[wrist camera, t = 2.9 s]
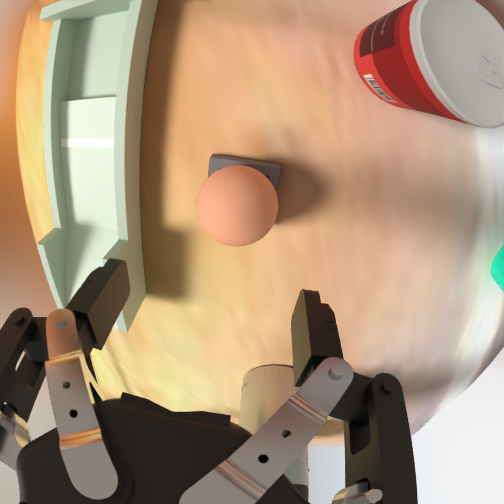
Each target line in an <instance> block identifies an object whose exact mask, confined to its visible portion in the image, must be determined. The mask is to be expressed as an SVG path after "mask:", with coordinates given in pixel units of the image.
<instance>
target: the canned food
mask: <svg viewBox="0 0 504 504" xmlns="http://www.w3.org/2000/svg"><path fill="white" fill-rule="evenodd" d="M354 61H355V65H356V69H357V71H358V73H359V75H360V77H361V79H362V80H363V82H364V83H365V84H366V86H367V87H368V88H369V89H370V90H371V91H372V92H373V93H374V94H375V95H377V96H378V97H379V98H380V99H382V100H384V101H386V102H387V103H389V104H392V105H395V106H398V107H403V108H408V109H413V110H417V111H422V112H426V113H430V114H434V115H438V116H442V117H446V118H449V119H453V120H456V121H459V122H463V123H466V124H470V125H474V126H477V127H483V128H496V127H500V126H502V125H504V30H503V28H502V27H501V26H500V24H499V23H498V22H497V21H496V19H495V18H494V17H493V16H492V15H491V14H490V13H489V12H488V11H487V10H486V9H485V8H484V7H482V6H481V5H480V4H479V3H477V2H476V1H475V0H412V1H410V2H408V3H406V4H405V5H403V6H401V7H399V8H397V9H395V10H394V11H392V12H390V13H388V14H387V15H385V16H383V17H381V18H380V19H378V20H376V21H375V22H373V23H372V24H370V25H368V26H367V27H366V28H364V29H363V30H362V31H361V32H360V34H359V35H358V37H357V39H356V41H355V46H354Z"/></svg>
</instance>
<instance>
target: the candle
mask: <svg viewBox="0 0 504 504" xmlns="http://www.w3.org/2000/svg"><path fill="white" fill-rule="evenodd" d="M491 275H492V277H493V279H494V280H495V281H496V283H497V284H498V285H499V286H500V288H501V289H502V290H503V292H504V247H503V248H502V249H501V250H500V251H499V252H498V253H497V255H496V257H495V259H494V261H493V263H492V268H491Z"/></svg>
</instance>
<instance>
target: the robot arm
mask: <svg viewBox="0 0 504 504" xmlns="http://www.w3.org/2000/svg"><path fill="white" fill-rule="evenodd" d="M129 294H130V282H129V276H128V269H127V263H126V261H125V260H120V259H115V258H109V259H108V260H107V262H106V263H105V264H104V266H103V267H100V266H99V267H98V268H96V269H95V270H93V271H92V272H91V273H90V274H89V275H88V277H87V278H86V279H85V281H84V282H83V283H82V285H81V287H80V288H79V289H78V290H77V292H76V293H75V295H74V296H73V297H72V299H71V300H70V302H69V303H68V305H67V306H66V307H65V309H64V308H61V309H57V310H55V311H53V312H52V313H50V315H49V316H48V317H33V315H32V313H31V311H30V310H29V309H27V308H19V309H16V310H15V311H13V312H12V313H11V314H10V316H9V317H8V319H7V320H6V322H5V324H4V325H3V327H2V328H1V330H0V460H1V461H2V462H4V463H5V464H7V465H8V466H9V467H11V468H12V469H14V470H16V471H17V477H18V482H19V490H20V502H19V504H310V503H309V502H308V444H309V442H310V441H311V440H312V439H313V437H314V436H315V435H316V433H317V432H318V431H319V430H320V428H321V427H322V426H323V424H324V423H325V421H326V420H327V417H328V416H331V417H334V418H338V419H341V420H344V439H345V489H342V490H340V491H339V492H338V493H337V494H336V495H335V496H334V498H333V500H332V504H418V500H417V484H416V473H415V465H414V464H415V463H414V455H413V448H412V441H411V434H410V428H409V422H408V416H407V411H406V406H405V401H404V396H403V391H402V387H401V384H400V382H399V381H398V379H397V378H395V377H394V376H393V375H391V374H388V373H381V374H378V375H376V376H375V377H374V379H373V378H369V377H366V376H363V375H360V374H357V373H355V372H353V369H352V367H351V366H350V364H349V363H348V362H346V361H345V360H344V358H343V353H342V348H341V343H340V338H339V333H338V331H337V330H338V329H337V324H336V319H335V315H334V312H333V311H332V309H331V308H330V306H329V305H328V304H324V303H321V300H320V295H319V292H318V291H312V290H305V289H302V290H301V291H300V294H299V297H298V300H297V303H296V306H295V309H294V312H293V315H292V321H291V332H292V350H293V368H290V367H286V366H278V365H270V366H263V367H258V368H255V369H253V370H251V371H249V372H248V373H247V374H246V375H245V376H244V378H243V386H242V398H241V407H240V417H239V425H237V424H235V423H232V422H230V418H231V415H225V414H218V413H211V412H205V411H193V412H173V411H170V410H168V409H166V408H164V407H162V406H160V405H158V404H156V403H154V402H152V401H150V400H148V399H146V398H142V397H138V396H135V395H131V394H128V393H125V392H123V393H122V395H121V398H114V399H107V400H106V398H105V396H104V394H103V392H102V389H101V386H100V383H99V380H98V377H97V373H96V370H95V366H94V363H93V359H92V356H91V351H92V349H93V348H96V349H99V350H102V348H103V346H104V344H105V342H106V340H107V338H108V336H109V334H110V332H111V330H112V328H113V326H114V324H115V322H116V320H117V318H118V316H119V314H120V313H121V311H122V309H123V307H124V305H125V303H126V301H127V299H128V297H129ZM23 350H24V352H25V355H24V357H23V359H22V361H21V363H20V365H19V367H18V369H17V371H16V370H15V368H16V364H17V362H18V360H19V358H20V356H21V354H22V352H23ZM45 376H47V382H48V388H49V394H50V399H51V404H52V409H53V413H54V417H55V422H56V425H57V427H56V428H54V429H52V430H50V431H49V432H47V433H45V434H43V435H42V436H40V437H38V438H36V439H35V440H33V441H31V436H30V434H29V428H28V425H27V421H28V419H29V416H30V413H31V411H32V408H33V405H34V403H35V400H36V398H37V395H38V393H39V390H40V388H41V385H42V383H43V381H44V378H45ZM30 441H31V442H30Z"/></svg>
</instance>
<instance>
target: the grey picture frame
mask: <svg viewBox="0 0 504 504" xmlns="http://www.w3.org/2000/svg"><path fill="white" fill-rule="evenodd" d="M233 165H242V166H248V167H251V168H254V169H256V170H258V171H259V172H261V173H262V174H263V175H266V176H268V180H269V181H270V182H271V183H272V185H273V187H274V189H275V191H277V186H278V181H279V176H280V171H281V165H280V164H275V163H269V162H263V161H257V160H251V159H245V158H238V157H231V156H224V155H216V154H212V156H211V157H210V161H209V171H208V177H209V176H211V175H212V174H213V173H214V172H216V171H217V170H220V169H222V168H224V167H228V166H233Z"/></svg>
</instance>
